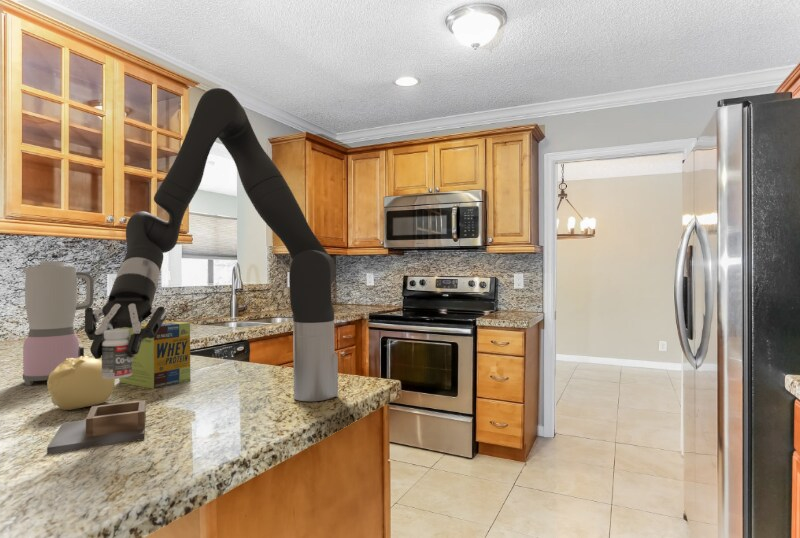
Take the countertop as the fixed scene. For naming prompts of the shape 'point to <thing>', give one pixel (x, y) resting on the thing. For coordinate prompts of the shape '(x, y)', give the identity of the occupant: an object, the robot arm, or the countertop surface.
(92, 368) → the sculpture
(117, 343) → the pill bottle
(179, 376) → the protein box
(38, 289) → the blender
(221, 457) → the countertop surface
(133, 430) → the socket dock
